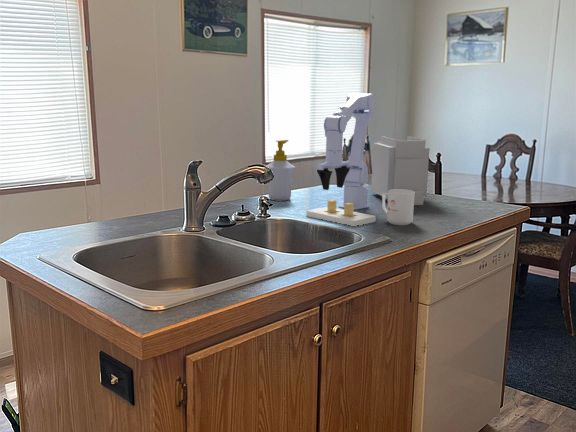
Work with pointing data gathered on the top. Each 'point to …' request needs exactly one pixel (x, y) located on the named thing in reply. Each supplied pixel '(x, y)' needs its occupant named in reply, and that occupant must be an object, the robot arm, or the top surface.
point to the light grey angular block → (400, 166)
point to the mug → (399, 206)
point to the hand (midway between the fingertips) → (332, 188)
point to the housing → (341, 216)
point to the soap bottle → (281, 175)
